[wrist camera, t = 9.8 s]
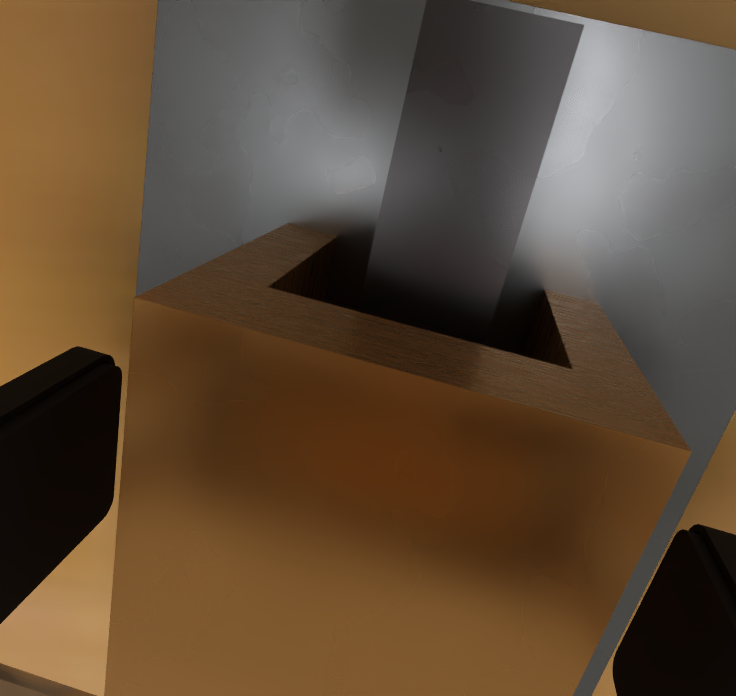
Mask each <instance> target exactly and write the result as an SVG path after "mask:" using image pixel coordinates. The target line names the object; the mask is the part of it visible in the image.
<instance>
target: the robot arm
mask: <svg viewBox="0 0 736 696" xmlns="http://www.w3.org/2000/svg"><path fill="white" fill-rule="evenodd" d="M121 385H122V371H121V369H120V368H119V367H118V366H115V362H114V359H113V358H112V357H111V356H110V355H107V354H103V353H100V352H96V351H93V350H89V349H86V348H82V347H78V346H77V347H74V348H71V349H70V350H68V351H66V352H64V353H62V354H60V355H58V356H56V357H55V358H53V359H51V360H49V361H47V362H45V363H43V364H41V365H40V366H38V367H36V368H34V369H32V370H30V371H28V372H26V373H25V374H23V375H21V376H19V377H17V378H15V379H13V380H12V381H10V382H8V383H6V384H4V385H2V386H0V624H1V623H2V622H3V621H4V620H5V619H6V618H7V617H8V616H9V615H10V614H11V613H12V612H13V611H14V610H15V609H16V608H17V606H18V605H19V604H20V603H21V602H22V601H23V600H24V599H25V598H26V597H27V596H28V595H29V594H30V593H31V592H32V591H33V590H34V589H35V588H36V587H37V586H38V585H39V584H40V583H41V582H42V581H43V580H44V579H45V578H46V577H47V576H48V575H49V574H50V573H51V572H52V571H53V570H54V569H55V568H56V567H57V566H58V565H59V564H60V563H61V562H62V561H63V559H64V558H65V557H66V556H67V555H68V554H69V553H70V552H71V551H72V550H73V549H74V548H75V547H76V546H77V545H78V544H79V543H80V542H81V541H82V540H83V539H84V538H85V537H86V536H87V535H88V534H89V533H90V532H91V531H92V530H93V529H94V528H95V527H96V526H97V525H98V524H99V523H100V522H101V521H102V520H103V519H104V517H105V516H106V515H107V513H108V511H109V509H110V507H111V505H112V502H113V497H114V485H115V470H116V456H117V442H118V428H119V413H120V399H121ZM613 680H614V684H615V688H616V693H617V696H736V535H734V534H731V533H727V532H724V531H720V530H717V529H714V528H710V527H707V526H703V525H700V524H697V525H694V526H693V527H691V528H690V529H689V531H687V530H680V531H679V532H677V534H676V535H675V537H674V539H673V541H672V543H671V545H670V547H669V548H668V550H667V552H666V554H665V556H664V558H663V560H662V562H661V564H660V566H659V568H658V570H657V572H656V574H655V576H654V578H653V580H652V582H651V584H650V586H649V588H648V590H647V592H646V594H645V596H644V598H643V600H642V602H641V604H640V606H639V608H638V610H637V612H636V614H635V616H634V618H633V620H632V622H631V624H630V626H629V628H628V630H627V632H626V634H625V636H624V638H623V640H622V641H621V643H620V645H619V647H618V649H617V651H616V654H615V657H614V661H613ZM0 696H96V695H93V694H90V693H87V692H84V691H81V690H78V689H75V688H72V687H69V686H66V685H63V684H60V683H57V682H54V681H51V680H48V679H45V678H42V677H39V676H36V675H34V674H31V673H28V672H25V671H22V670H19V669H16V668H13V667H10V666H7V665H4V664H1V663H0Z"/></svg>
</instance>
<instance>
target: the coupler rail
mask: <svg viewBox="0 0 736 696" xmlns="http://www.w3.org/2000/svg"><path fill="white" fill-rule="evenodd" d="M287 223H289V224H293V225H297V226H301V227H305V228H309V229H312V230H316V231H320V232H324V233H328V234H332V235H336V236H337V241H336V246H335V251H334V256H333V261H332V266H331V271H330V276H329V281H328V286H327V291H326V296H325V301H324V302H325V303H328V304H332V305H336V306H339V307H343V308H347V309H351V310H354V311H358V312H362V313H365V314H369V315H373V316H377V317H380V318H384V319H388V320H391V321H395V322H399V323H403V324H406V325H410V326H414V327H417V328H421V329H425V330H429V331H432V332H436V333H440V334H443V335H447V336H451V337H455V338H458V339H462V340H466V341H469V342H473V343H477V344H480V345H484V346H488V347H492V348H495V349H499V350H503V351H506V352H510V353H514V354H518V355H521V356H522V354H523V351H524V348H525V345H526V342H527V339H528V336H529V333H530V330H531V327H532V325H533V322H534V319H535V316H536V313H537V310H538V307H539V304H540V301H541V298H542V295H543V292H544V289H545V290H549V291H552V292H556V293H560V294H564V295H568V296H572V297H576V298H580V299H583V300H587V301H591V302H595V303H598V304H599V305H600V307H601V308H602V310H603V312H604V313H605V315H606V316H607V318H608V319H609V321H610V323H611V324H612V326H613V327H614V329H615V331H616V332H617V334H618V335H619V337H620V339H621V340H622V342H623V343H624V345H625V346H626V348H627V350H628V351H629V353H630V354H631V356H632V358H633V359H634V361H635V362H636V364H637V366H638V367H639V369H640V370H641V372H642V373H643V375H644V377H645V378H646V380H647V381H648V383H649V385H650V386H651V388H652V389H653V391H654V393H655V394H656V396H657V397H658V399H659V400H660V402H661V404H662V405H663V407H664V408H665V410H666V412H667V413H668V415H669V416H670V418H671V420H672V421H673V423H674V424H675V426H676V427H677V429H678V431H679V432H680V434H681V435H682V437H683V439H684V440H685V442H686V443H687V445H688V447H689V448H690V450H691V451H692V452H691V454H690V456H689V458H688V460H687V462H686V465H685V467H684V469H683V471H682V473H681V475H680V477H679V479H678V481H677V483H676V485H675V487H674V489H673V491H672V493H671V495H670V497H669V499H668V501H667V503H666V506H665V508H664V510H663V512H662V514H661V516H660V518H659V520H658V522H657V524H656V526H655V528H654V530H653V532H652V534H651V536H650V538H649V540H648V542H647V544H646V547H645V549H644V551H643V553H642V555H641V557H640V559H639V561H638V563H637V565H636V567H635V569H634V571H633V573H632V575H631V577H630V579H629V581H628V583H627V585H626V588H625V590H624V592H623V594H622V596H621V598H620V600H619V602H618V604H617V606H616V608H615V610H614V612H613V614H612V616H611V618H610V620H609V622H608V624H607V626H606V629H605V631H604V633H603V635H602V637H601V639H600V641H599V643H598V645H597V647H596V649H595V651H594V653H593V655H592V657H591V659H590V661H589V663H588V665H587V667H586V669H585V672H584V674H583V676H582V678H581V680H580V682H579V684H578V686H577V688H576V690H575V692H574V694H573V696H591V695H592V693H593V691H594V689H595V687H596V685H597V683H598V681H599V679H600V677H601V675H602V673H603V671H604V669H605V668H606V666H607V664H608V662H609V660H610V658H611V656H612V654H613V652H614V650H615V648H616V646H617V644H618V642H619V640H620V638H621V636H622V634H623V632H624V630H625V628H626V626H627V624H628V622H629V620H630V618H631V616H632V614H633V612H634V610H635V608H636V606H637V604H638V602H639V600H640V598H641V596H642V594H643V592H644V590H645V588H646V586H647V584H648V582H649V580H650V578H651V576H652V574H653V572H654V570H655V568H656V566H657V564H658V562H659V560H660V558H661V556H662V554H663V552H664V550H665V548H666V546H667V544H668V542H669V540H670V538H671V536H672V534H673V532H674V530H675V528H676V526H677V524H678V522H679V520H680V518H681V516H682V514H683V512H684V510H685V508H686V506H687V504H688V502H689V501H690V499H691V497H692V495H693V493H694V491H695V489H696V487H697V485H698V483H699V481H700V479H701V477H702V475H703V473H704V471H705V469H706V467H707V465H708V463H709V461H710V459H711V457H712V455H713V453H714V451H715V449H716V447H717V445H718V443H719V441H720V439H721V437H722V435H723V433H724V431H725V429H726V427H727V425H728V423H729V421H730V419H731V417H732V415H733V413H734V411H735V409H736V50H735V49H730V48H725V47H721V46H716V45H711V44H707V43H702V42H697V41H693V40H688V39H683V38H679V37H674V36H669V35H665V34H660V33H655V32H651V31H646V30H641V29H637V28H632V27H627V26H623V25H618V24H613V23H609V22H604V21H599V20H595V19H590V18H585V17H581V16H576V15H571V14H567V13H562V12H557V11H553V10H548V9H543V8H539V7H534V6H529V5H525V4H520V3H515V2H511V1H506V0H158V10H157V24H156V37H155V50H154V63H153V77H152V90H151V103H150V116H149V130H148V143H147V156H146V169H145V183H144V196H143V209H142V222H141V236H140V249H139V262H138V275H137V289H136V296H138V295H140V294H142V293H144V292H146V291H148V290H151V289H153V288H155V287H157V286H159V285H161V284H163V283H165V282H167V281H169V280H171V279H173V278H175V277H177V276H179V275H182V274H184V273H186V272H188V271H190V270H192V269H194V268H196V267H198V266H200V265H202V264H204V263H206V262H208V261H210V260H213V259H215V258H217V257H219V256H221V255H223V254H225V253H227V252H229V251H231V250H233V249H235V248H237V247H239V246H241V245H244V244H246V243H248V242H250V241H252V240H254V239H256V238H258V237H260V236H262V235H264V234H266V233H268V232H270V231H272V230H275V229H277V228H279V227H281V226H283V225H285V224H287Z"/></svg>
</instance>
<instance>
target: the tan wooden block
mask: <svg viewBox="0 0 736 696" xmlns="http://www.w3.org/2000/svg"><path fill="white" fill-rule="evenodd" d="M336 241H337V236H336V235H332V234H328V233H324V232H320V231H316V230H312V229H309V228H305V227H301V226H297V225H293V224H289V223H287V224H285V225H283V226H281V227H279V228H277V229H275V230H272V231H270V232H268V233H266V234H264V235H262V236H260V237H258V238H256V239H254V240H252V241H250V242H248V243H246V244H244V245H241V246H239V247H237V248H235V249H233V250H231V251H229V252H227V253H225V254H223V255H221V256H219V257H217V258H215V259H213V260H210V261H208V262H206V263H204V264H202V265H200V266H198V267H196V268H194V269H192V270H190V271H188V272H186V273H184V274H182V275H179V276H177V277H175V278H173V279H171V280H169V281H167V282H165V283H163V284H161V285H159V286H157V287H155V288H153V289H151V290H148V291H146V292H144V293H142V294H140V295H138V296H136V297H134V309H133V322H132V335H131V348H130V362H129V375H128V388H127V402H126V415H125V428H124V441H123V455H122V468H121V481H120V495H119V508H118V521H117V534H116V548H115V561H114V574H113V588H112V601H111V614H110V627H109V641H108V654H107V667H106V680H105V694H104V696H573V694H574V692H575V690H576V688H577V686H578V684H579V682H580V680H581V678H582V676H583V674H584V672H585V669H586V667H587V665H588V663H589V661H590V659H591V657H592V655H593V653H594V651H595V649H596V647H597V645H598V643H599V641H600V639H601V637H602V635H603V633H604V631H605V629H606V626H607V624H608V622H609V620H610V618H611V616H612V614H613V612H614V610H615V608H616V606H617V604H618V602H619V600H620V598H621V596H622V594H623V592H624V590H625V588H626V585H627V583H628V581H629V579H630V577H631V575H632V573H633V571H634V569H635V567H636V565H637V563H638V561H639V559H640V557H641V555H642V553H643V551H644V549H645V547H646V544H647V542H648V540H649V538H650V536H651V534H652V532H653V530H654V528H655V526H656V524H657V522H658V520H659V518H660V516H661V514H662V512H663V510H664V508H665V506H666V503H667V501H668V499H669V497H670V495H671V493H672V491H673V489H674V487H675V485H676V483H677V481H678V479H679V477H680V475H681V473H682V471H683V469H684V467H685V465H686V462H687V460H688V458H689V456H690V454H691V452H692V451H691V450H690V448H689V447H688V445H687V443H686V442H685V440H684V439H683V437H682V435H681V434H680V432H679V431H678V429H677V427H676V426H675V424H674V423H673V421H672V420H671V418H670V416H669V415H668V413H667V412H666V410H665V408H664V407H663V405H662V404H661V402H660V400H659V399H658V397H657V396H656V394H655V393H654V391H653V389H652V388H651V386H650V385H649V383H648V381H647V380H646V378H645V377H644V375H643V373H642V372H641V370H640V369H639V367H638V366H637V364H636V362H635V361H634V359H633V358H632V356H631V354H630V353H629V351H628V350H627V348H626V346H625V345H624V343H623V342H622V340H621V339H620V337H619V335H618V334H617V332H616V331H615V329H614V327H613V326H612V324H611V323H610V321H609V319H608V318H607V316H606V315H605V313H604V312H603V310H602V308H601V307H600V305H599V304H598V303H595V302H591V301H587V300H583V299H580V298H576V297H572V296H568V295H564V294H560V293H556V292H552V291H549V290H545V289H544V292H543V295H542V298H541V301H540V304H539V307H538V310H537V313H536V316H535V319H534V322H533V325H532V327H531V330H530V333H529V336H528V339H527V342H526V345H525V348H524V351H523V354H522V356H521V355H518V354H514V353H510V352H506V351H503V350H499V349H495V348H492V347H488V346H484V345H480V344H477V343H473V342H469V341H466V340H462V339H458V338H455V337H451V336H447V335H443V334H440V333H436V332H432V331H429V330H425V329H421V328H417V327H414V326H410V325H406V324H403V323H399V322H395V321H391V320H388V319H384V318H380V317H377V316H373V315H369V314H365V313H362V312H358V311H354V310H351V309H347V308H343V307H339V306H336V305H332V304H328V303H325V302H324V301H325V296H326V291H327V286H328V281H329V276H330V271H331V266H332V261H333V256H334V251H335V246H336Z"/></svg>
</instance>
